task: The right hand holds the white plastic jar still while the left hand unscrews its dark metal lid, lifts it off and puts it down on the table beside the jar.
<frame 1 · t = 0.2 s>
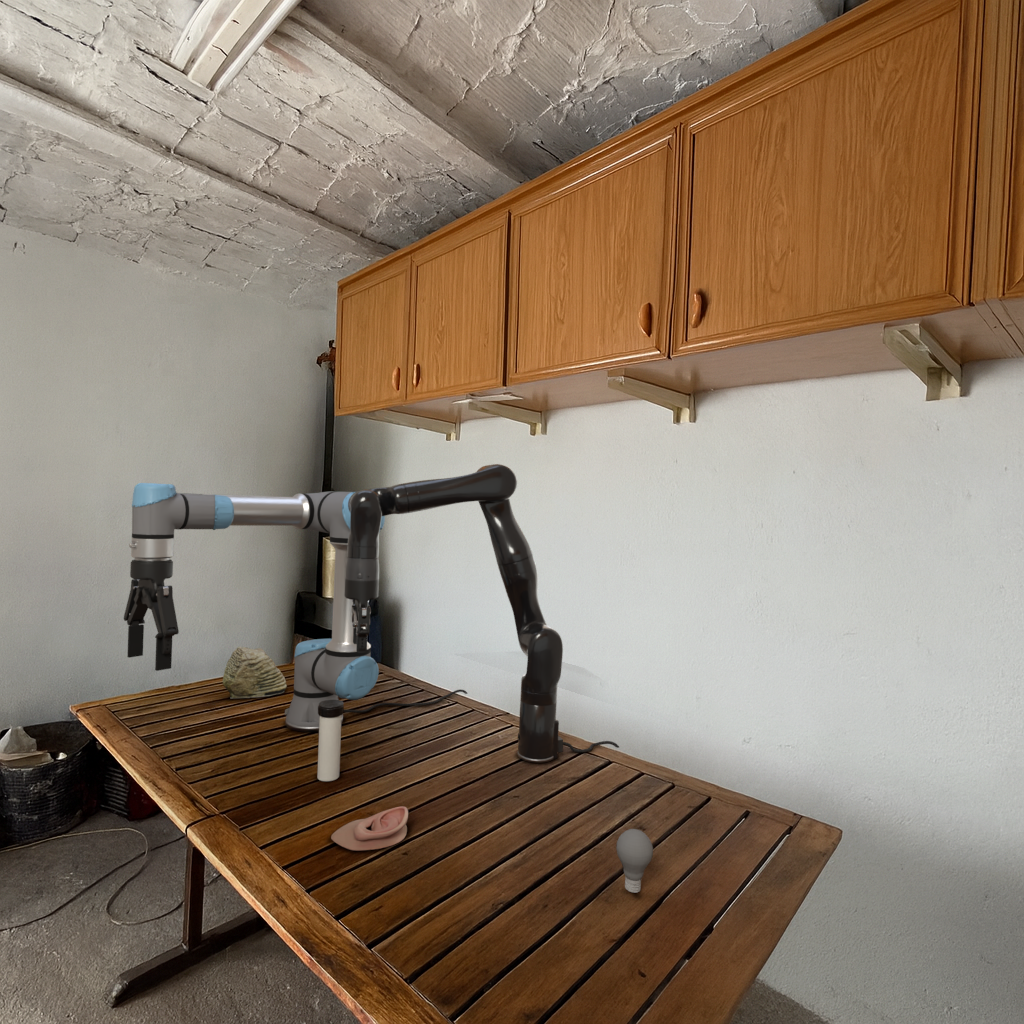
left hand: (148, 662, 129), 28 cm above the table, tool pointing down, fingers open, 13 cm apart
right hand: (359, 647, 145), 29 cm above the table, tool pointing down, fingers open, 8 cm apart
light bulb: (632, 891, 106), on the table
anatomical model: (370, 836, 119), on the table
lid: (331, 704, 143), point 16 cm above the table, screwed on, not yet turned
fossil: (254, 694, 198), on the table
jar: (328, 776, 143), on the table
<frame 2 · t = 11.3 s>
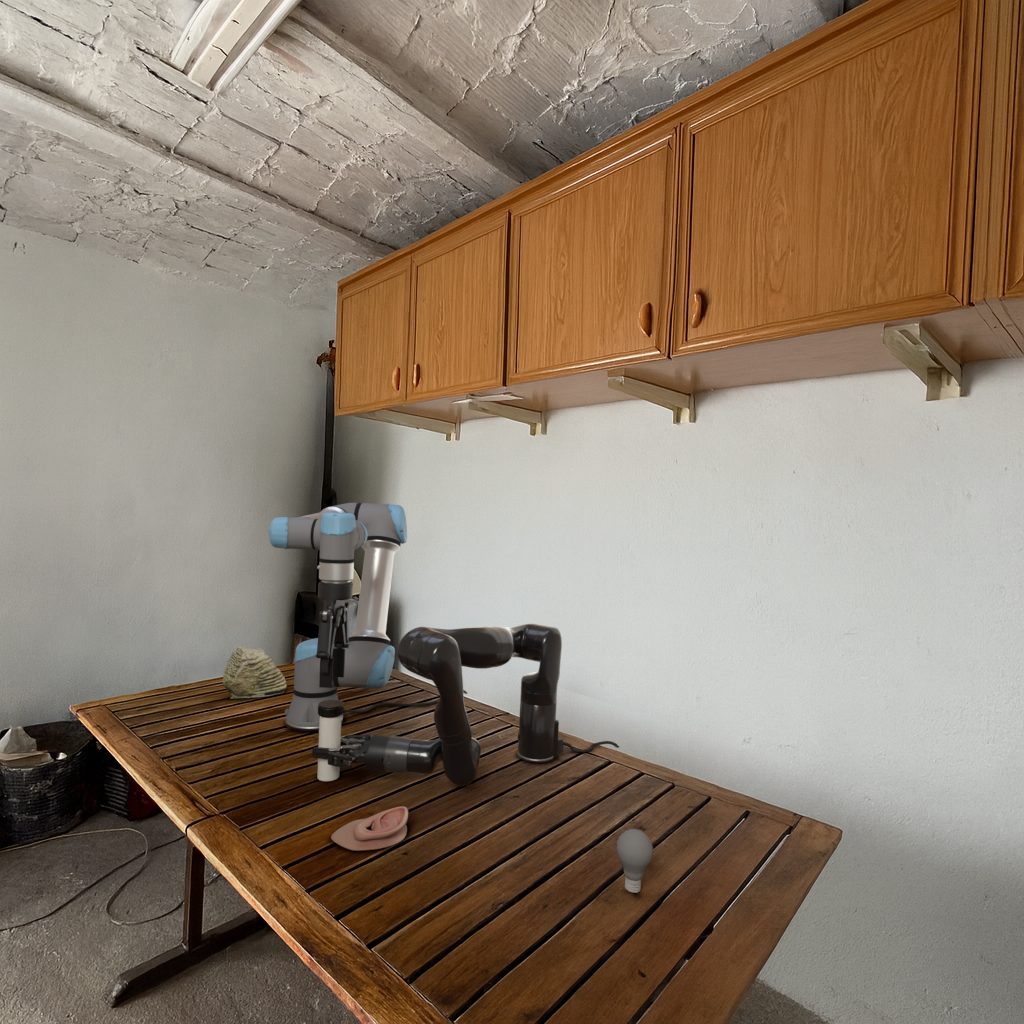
left hand: (332, 681, 143), 22 cm above the table, tool pointing down, fingers open, 8 cm apart
right hand: (318, 747, 144), 6 cm above the table, tool horizontal, fingers closed on jar, 4 cm apart
jar: (328, 776, 143), on the table, touching right hand
everything else where it was.
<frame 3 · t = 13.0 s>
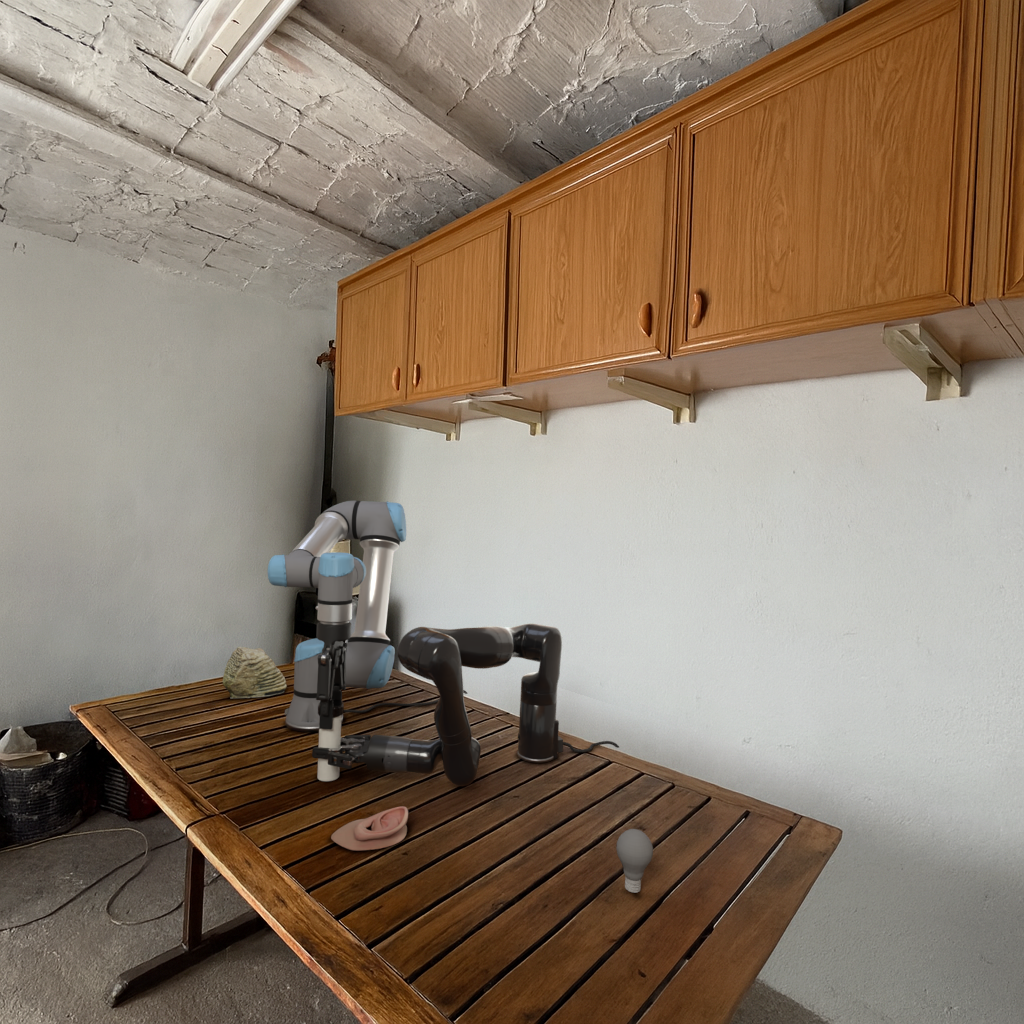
left hand: (330, 723, 143), 12 cm above the table, tool pointing down, fingers closed on lid, 5 cm apart
right hand: (318, 747, 144), 6 cm above the table, tool horizontal, fingers closed on jar, 4 cm apart
lid: (331, 704, 143), point 16 cm above the table, screwed on, not yet turned, touching left hand
jar: (328, 776, 143), on the table, touching right hand
everything else where it was.
when the left hand's fingers open (12 cm above the table, at t = 14.3 s): lid stays where it is, point 17 cm above the table.
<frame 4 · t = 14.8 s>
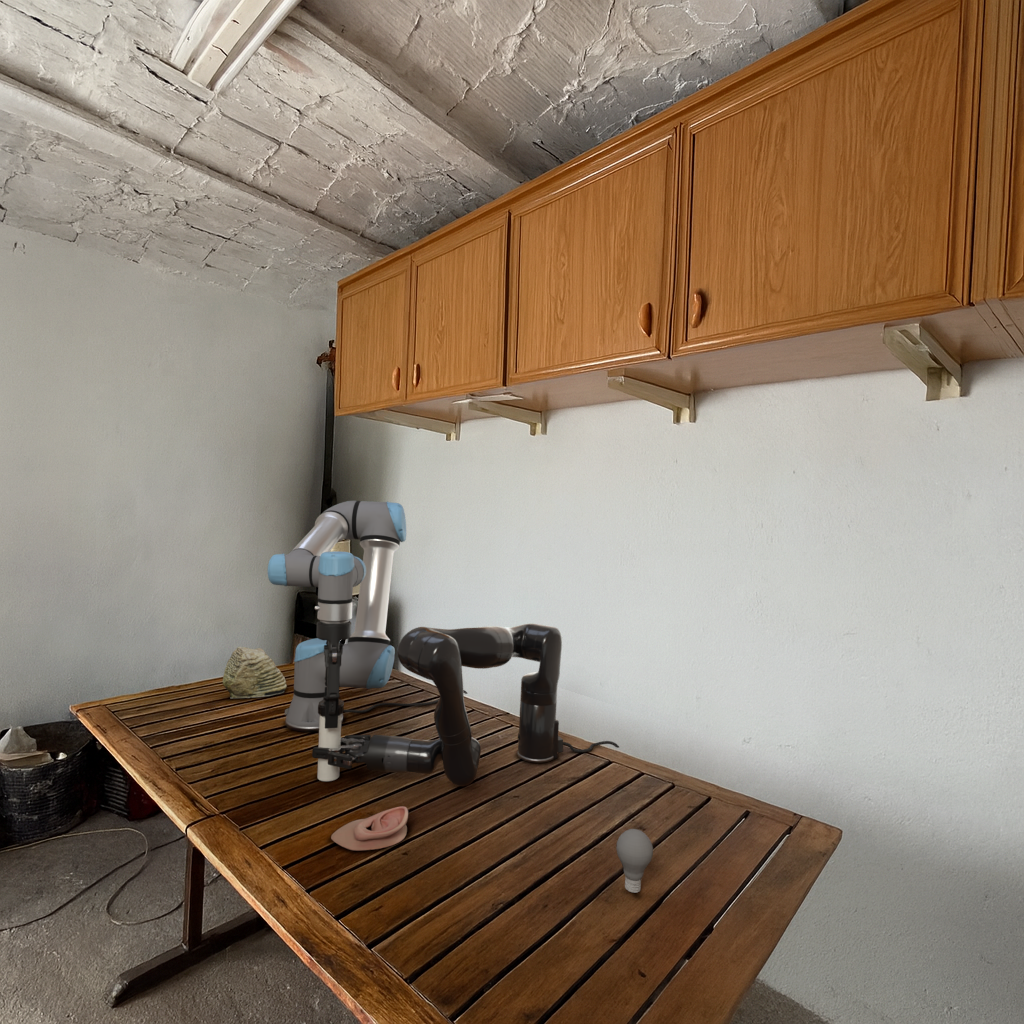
left hand: (330, 720, 143), 13 cm above the table, tool pointing down, fingers open, 8 cm apart
right hand: (318, 747, 144), 6 cm above the table, tool horizontal, fingers closed on jar, 4 cm apart
lid: (331, 704, 143), point 17 cm above the table, turned 61° so far, risen 0.2 cm, still on its thread
jar: (328, 776, 143), on the table, touching right hand
everything else where it was.
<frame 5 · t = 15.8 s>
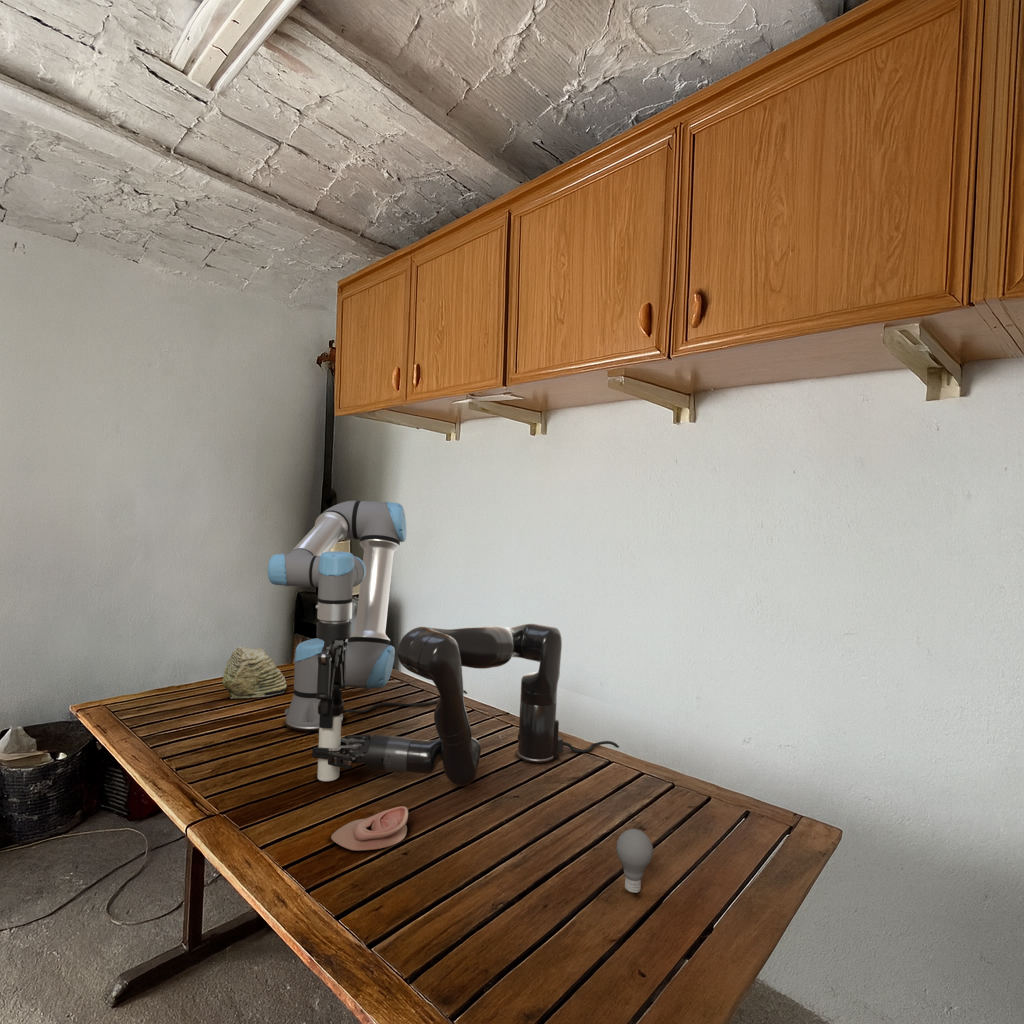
left hand: (330, 722, 143), 12 cm above the table, tool pointing down, fingers closed on lid, 5 cm apart
right hand: (318, 747, 144), 6 cm above the table, tool horizontal, fingers closed on jar, 4 cm apart
lid: (331, 704, 143), point 17 cm above the table, turned 61° so far, risen 0.2 cm, still on its thread, touching left hand
jar: (328, 776, 143), on the table, touching right hand
everything else where it was.
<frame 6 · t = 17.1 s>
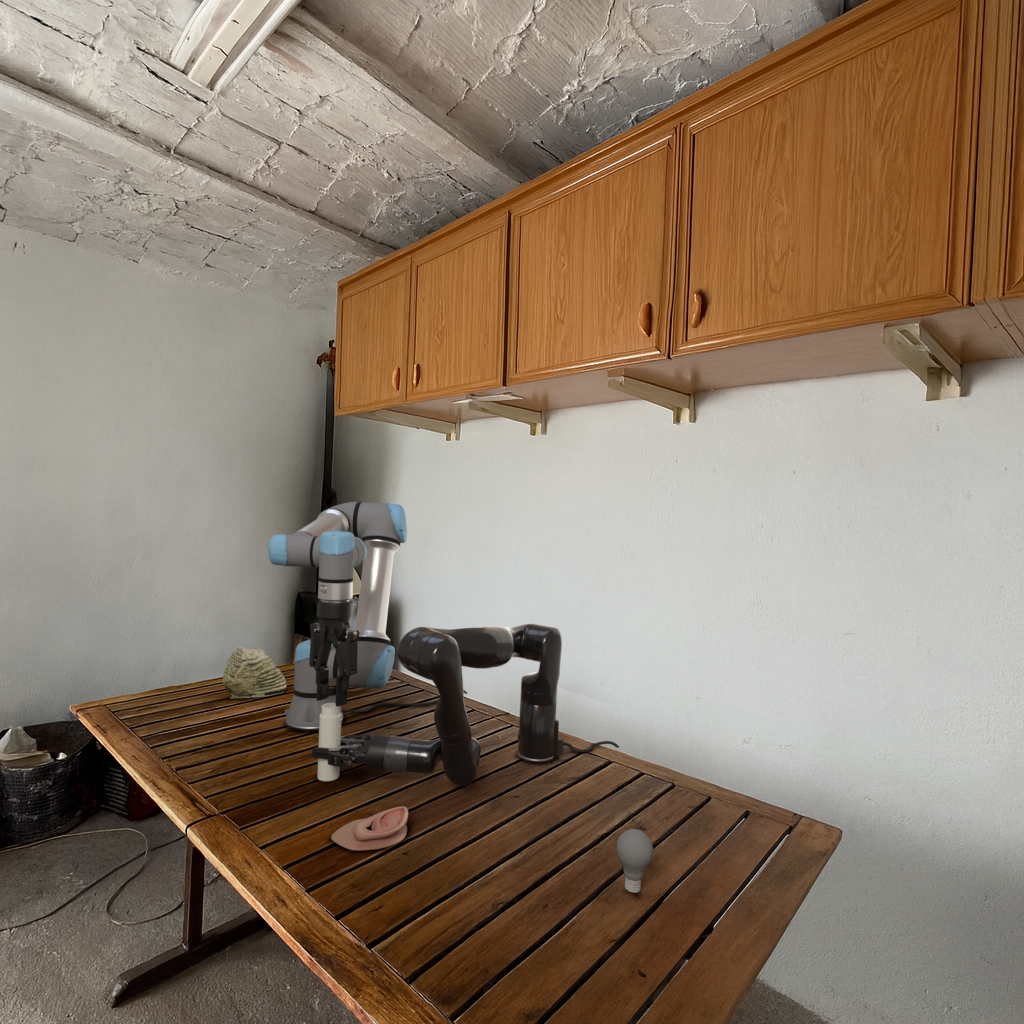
left hand: (331, 701, 143), 17 cm above the table, tool pointing down, fingers closed on lid, 5 cm apart
right hand: (318, 747, 144), 6 cm above the table, tool horizontal, fingers closed on jar, 4 cm apart
lid: (332, 683, 143), point 21 cm above the table, off its thread, touching left hand
jar: (328, 776, 143), on the table, touching right hand
everything else where it was.
when the left hand's fingers open (0 cm above the table, at t = 22.5 s): lid drops 2 cm, point 2 cm above the table.
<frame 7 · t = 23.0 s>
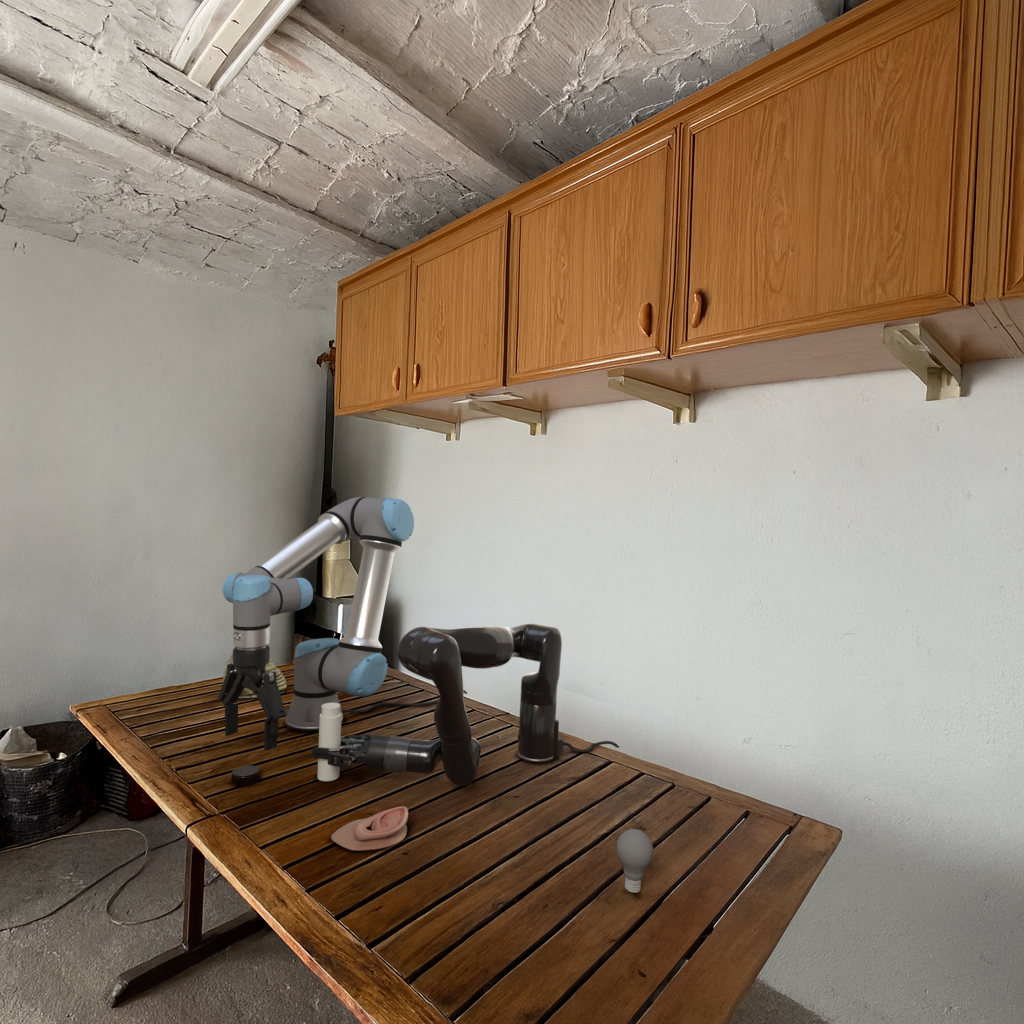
left hand: (250, 741, 140), 9 cm above the table, tool pointing down, fingers open, 13 cm apart
right hand: (318, 747, 144), 6 cm above the table, tool horizontal, fingers closed on jar, 4 cm apart
lid: (245, 772, 140), point 2 cm above the table, off its thread
jar: (328, 776, 143), on the table, touching right hand
everything else where it was.
when the right hand's fingers open (6 cm above the table, at t = 23.1 s): jar stays where it is, on the table.
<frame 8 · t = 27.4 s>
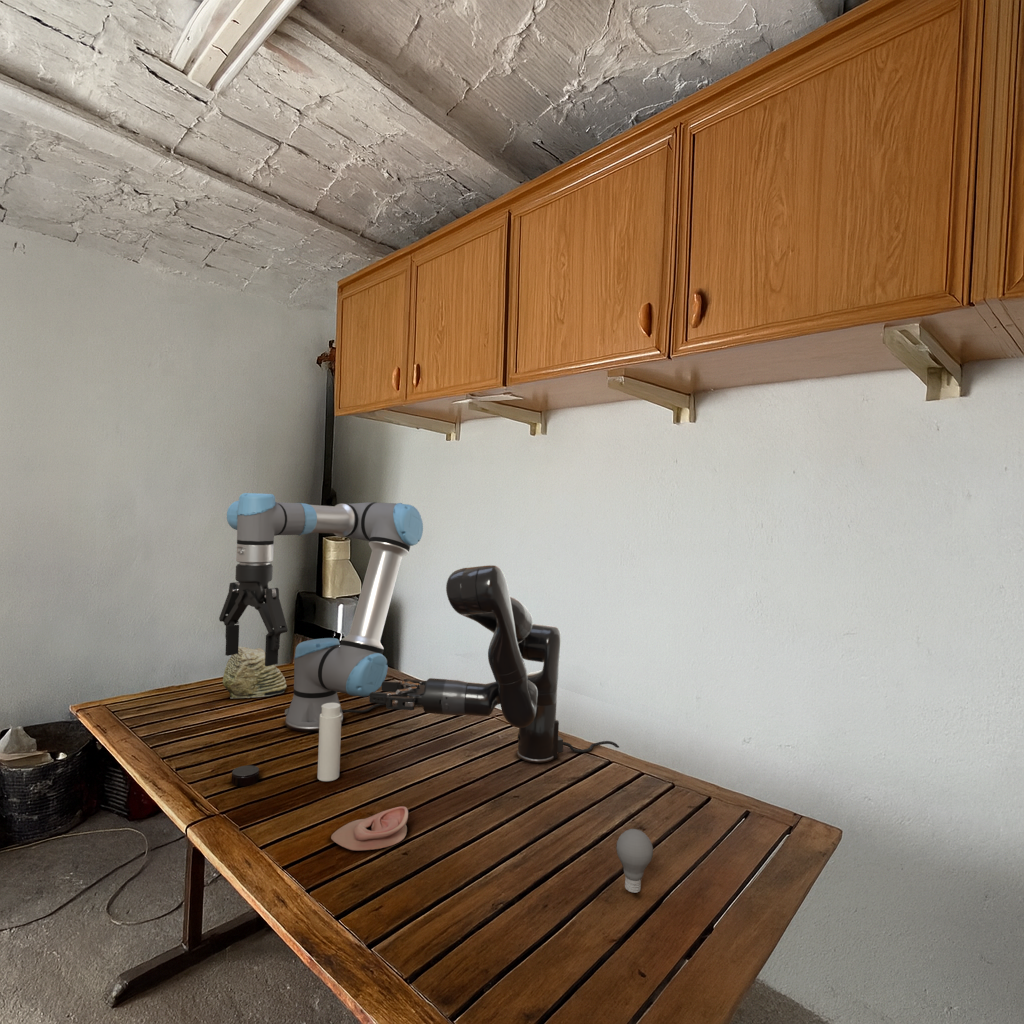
left hand: (251, 659, 139), 27 cm above the table, tool pointing down, fingers open, 13 cm apart
right hand: (376, 691, 142), 20 cm above the table, tool horizontal, fingers open, 8 cm apart
jar: (328, 776, 143), on the table
everything else where it was.
at the end: lid came off its thread; lid point 2.0 cm above the table; the left hand is holding nothing; the right hand is holding nothing; jar tilted 0°; jar moved 0.0 cm from its start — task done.
